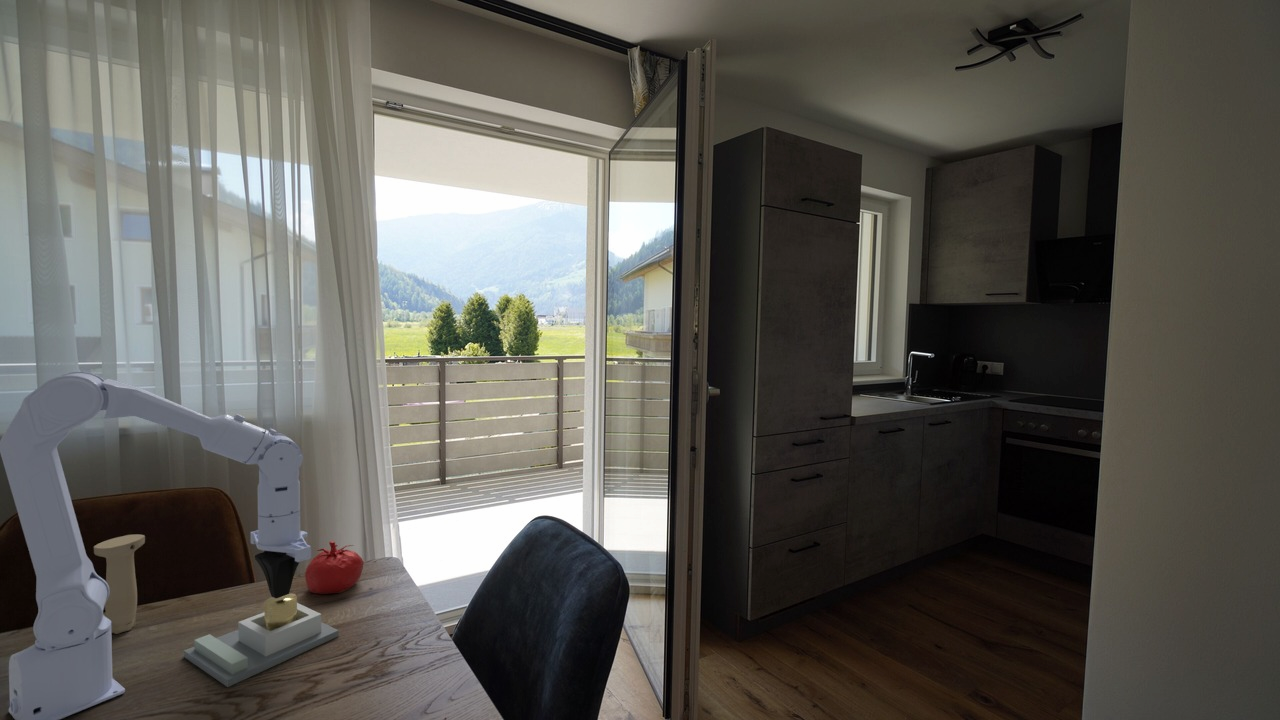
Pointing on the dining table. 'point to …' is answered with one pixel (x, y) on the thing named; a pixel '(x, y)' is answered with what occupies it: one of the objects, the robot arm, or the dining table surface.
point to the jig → (258, 646)
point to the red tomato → (333, 570)
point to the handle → (120, 580)
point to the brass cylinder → (280, 611)
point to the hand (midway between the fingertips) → (280, 595)
